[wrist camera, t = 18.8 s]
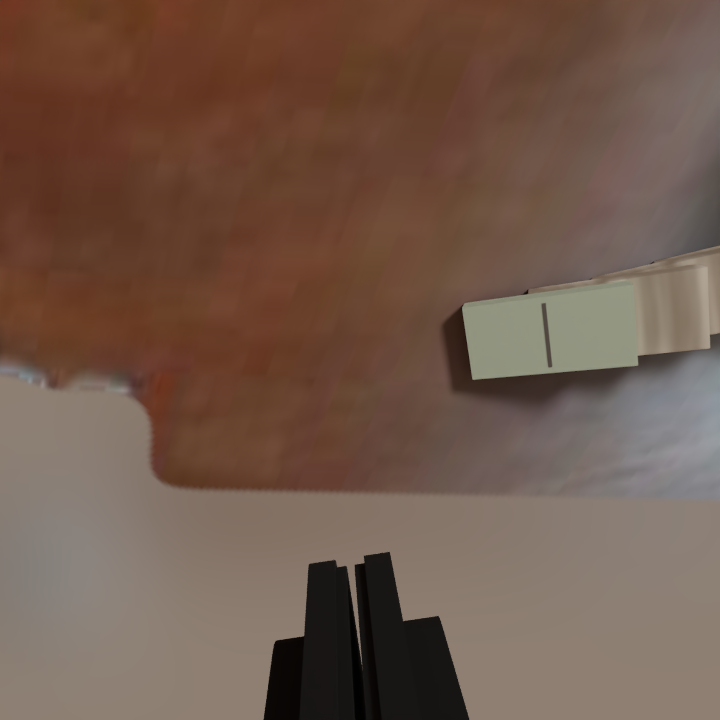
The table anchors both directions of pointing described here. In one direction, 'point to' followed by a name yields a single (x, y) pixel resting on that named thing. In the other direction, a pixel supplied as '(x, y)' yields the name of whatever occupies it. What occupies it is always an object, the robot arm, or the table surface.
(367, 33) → the table surface
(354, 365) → the table surface
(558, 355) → the domino
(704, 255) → the domino
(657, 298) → the domino
